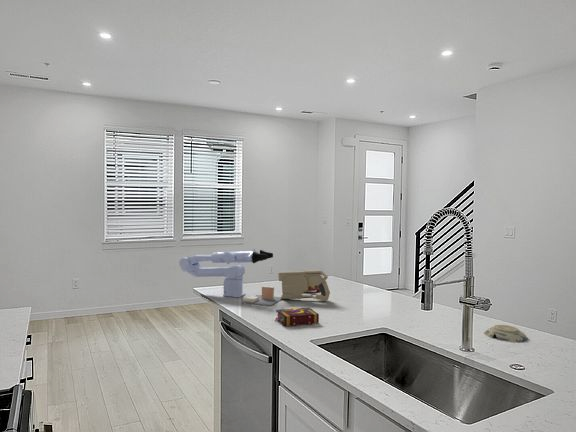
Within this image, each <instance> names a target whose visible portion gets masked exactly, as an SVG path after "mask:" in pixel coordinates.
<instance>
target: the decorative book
mask: <svg viewBox="0 0 576 432" xmlns="http://www.w3.org/2000/svg"><path fill="white" fill-rule="evenodd" d="M275 312H276V313H277V317H276V318H275V319H274V321H275V322H276V321H277V322H279V323H281V324H282V325H283V326H284V327H289V326H290V327H298V326H299V325H301V326H303V325H307V326H311V325H313V324H316V325H317V324H320V323H319V319H320V318H319V317H320V316H319V315H320V314H319V313H317V312H316V311H314V310H313V309H312V308H311V307H310V306H309V307H300V308H295V307H291V308H287V309H285V308H281V309H279V308H278V309H276V310H275Z"/></svg>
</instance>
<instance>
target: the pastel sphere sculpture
mask: <svg viewBox="0 0 576 432" xmlns="http://www.w3.org/2000/svg"><path fill="white" fill-rule="evenodd" d="M318 286H319V285H318ZM318 286H316V288H315V286H308V287H307V288H306V290H305V291H304V292H303V293H316V292H320V291H319V289H320V288H319V287H318ZM320 293H321V292H320Z"/></svg>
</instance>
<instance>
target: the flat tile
mask: <svg viewBox="0 0 576 432" xmlns="http://www.w3.org/2000/svg"><path fill="white" fill-rule="evenodd" d="M255 296H256V295H255ZM255 296H252V295H247V296H245V297H243V298H242V302H252V303H254V302H256V301H258V300H259V297H255Z"/></svg>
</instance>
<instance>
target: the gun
mask: <svg viewBox="0 0 576 432" xmlns="http://www.w3.org/2000/svg"><path fill="white" fill-rule="evenodd" d="M277 275H278V282H281V291H282V295H281V296H280V297H281V299H282V300H299V299H314V300H318V301H323V302H327V303H328V300H329V298H330V294H331V291H330V288H329V286H328V283H327V281H326V280H327V279H328V277H329V276H328V275H327V274H326V273H325V272H324V271H323V270H321V269H316V270H314V269H312V270H303V271H302V270H298V271H294V270H293V271H279V272H278V274H277ZM318 285H319V286H318ZM308 286H315V288H316V286H318V287H319V288H320V289H319V291H320V293H317V294H316V293H312V294H304V293H305V292H304V291H305V290H306V288H307V287H308ZM319 291H318V292H319Z"/></svg>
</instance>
